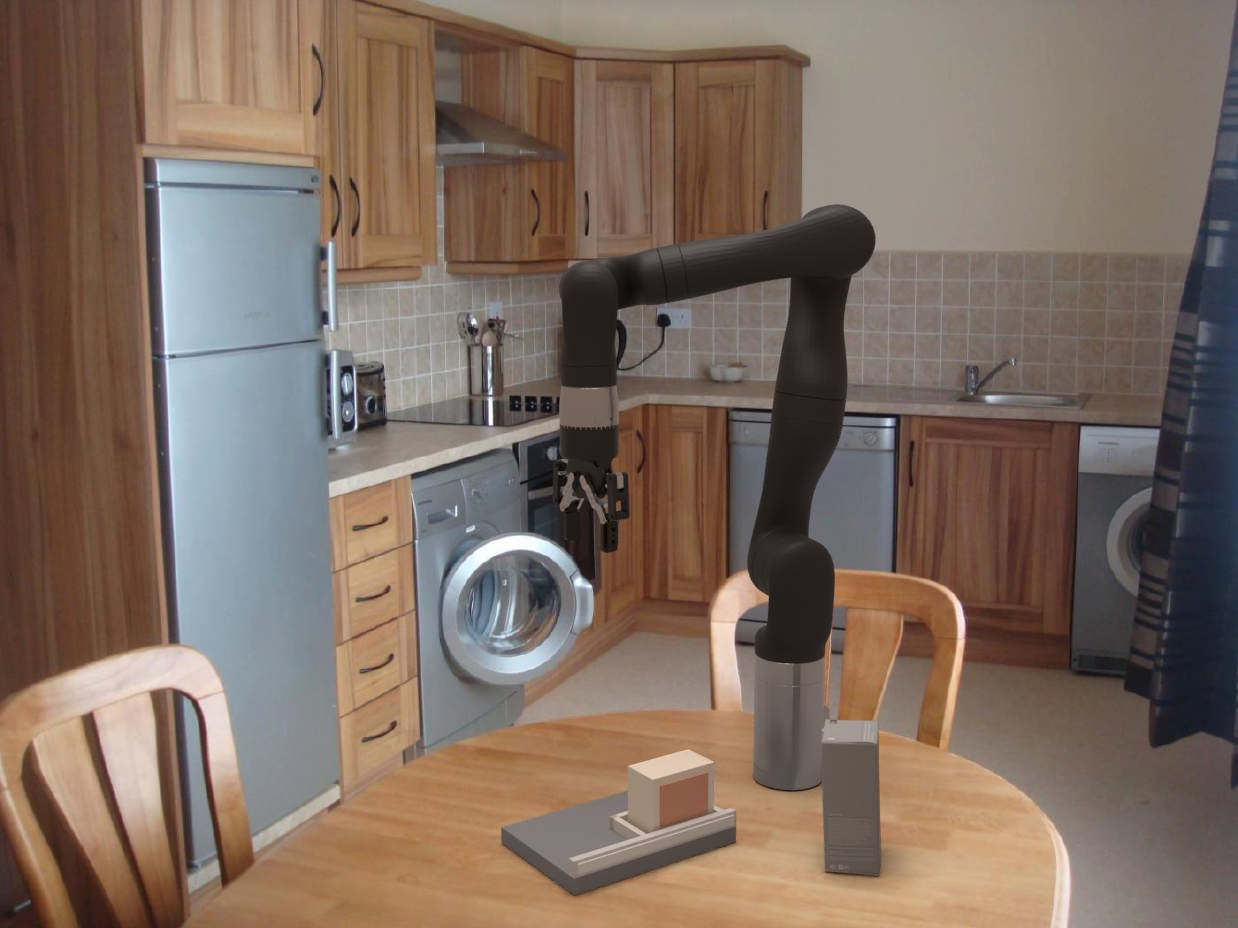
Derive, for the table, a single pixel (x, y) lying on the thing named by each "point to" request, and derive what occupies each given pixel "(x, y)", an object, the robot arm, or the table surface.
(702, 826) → the shelf deck
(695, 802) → the cream box
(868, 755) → the skincare box
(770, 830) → the table surface
